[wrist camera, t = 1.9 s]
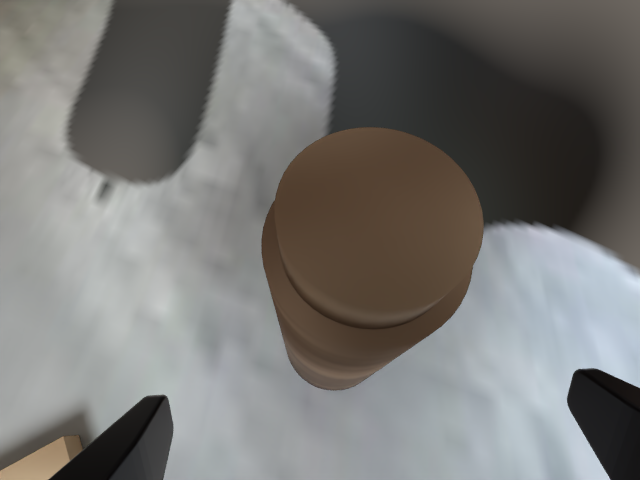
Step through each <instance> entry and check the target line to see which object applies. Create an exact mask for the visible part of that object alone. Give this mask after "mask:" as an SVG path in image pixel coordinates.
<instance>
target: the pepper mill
mask: <svg viewBox="0 0 640 480" xmlns="http://www.w3.org/2000/svg"><path fill="white" fill-rule="evenodd" d="M482 238H483V216H482V209H481V205H480V202H479V199H478V196H477V194H476V192H475V189H474V187H473V186H472V184H471V182H470V180H469V179H468V177H467V176H466V174H465V173H464V172H463V170H462V169H461V168H460V167H459V166H458V165H457V164H456V163H455V162H454V161H453V160H452V159H451V158H450V157H449V156H448V155H447V154H445V153H444V152H443V151H442V150H440V149H438V148H437V147H436V146H434V145H432V144H431V143H429V142H427V141H425V140H423V139H421V138H419V137H416V136H414V135H411V134H408V133H405V132H401V131H398V130H393V129H387V128H377V127H361V128H353V129H347V130H343V131H339V132H336V133H333V134H330V135H327V136H325V137H323V138H321V139H319V140H317V141H315V142H314V143H312V144H311V145H309V146H308V147H306V148H305V149H304V150H303V151H302V152H301V153H299V154H298V155H297V156H296V158H295V159H294V160H293V161H292V162H291V163H290V165H289V166H288V168H287V169H286V171H285V172H284V174H283V176H282V179H281V181H280V183H279V186H278V189H277V193H276V198H275V201H274V202H273V204H272V206H271V208H270V210H269V212H268V214H267V217H266V220H265V224H264V227H263V234H262V259H263V265H264V269H265V273H266V277H267V280H268V284H269V288H270V291H271V295H272V299H273V302H274V306H275V310H276V313H277V317H278V321H279V324H280V328H281V332H282V335H283V339H284V343H285V347H286V350H287V354H288V357H289V360H290V362H291V364H292V366H293V367H294V369H295V370H296V372H297V373H298V374H299V375H300V376H301V377H302V378H303V379H304V380H305V381H307V382H308V383H310V384H312V385H314V386H316V387H318V388H321V389H325V390H344V389H348V388H351V387H353V386H355V385H357V384H359V383H361V382H362V381H363V380H365V379H366V378H368V377H369V376H371V375H372V374H374V373H375V372H376V371H378V370H379V369H381V368H382V367H384V366H385V365H387V364H388V363H390V362H391V361H392V360H394V359H395V358H397V357H398V356H400V355H401V354H403V353H404V352H405V351H407V350H408V349H410V348H411V347H413V346H414V345H416V344H417V343H419V342H420V341H421V340H423V339H424V338H426V337H427V336H429V335H430V334H432V333H433V332H434V331H436V330H437V329H438V328H440V327H441V326H442V325H443V324H444V323H445V322H446V321H447V320H448V319H449V318H450V317H451V316H452V315H453V314H454V313H455V311H456V310H457V309H458V307H459V306H460V304H461V302H462V300H463V298H464V297H465V295H466V292H467V289H468V286H469V283H470V280H471V275H472V269H473V264H474V263H475V261H476V259H477V257H478V254H479V251H480V248H481V244H482Z"/></svg>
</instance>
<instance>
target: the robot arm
mask: <svg viewBox="0 0 640 480" xmlns="http://www.w3.org/2000/svg"><path fill="white" fill-rule="evenodd" d="M567 403H568V407H569V409H570V411H571V413H572V415H573V416H574V418H575V420H576V422H577V423H578V425H579V427H580V428H581V430H582V432H583V434H584V435H585V437H586V439H587V440H588V442H589V444H590V446H591V447H592V449H593V451H594V452H595V454H596V456H597V458H598V459H599V461H600V463H601V464H602V466H603V468H604V469H605V471H606V473H607V474H608V476H609V478H610V479H611V480H640V388H638V387H636V386H634V385H631V384H629V383H627V382H625V381H623V380H621V379H618V378H616V377H614V376H612V375H610V374H607V373H605V372H603V371H601V370H598V369H594V368H589V369H578V370H576V371H575V372H574V374H573V377H572V381H571V385H570V388H569V392H568V396H567ZM172 437H173V421H172V415H171V410H170V405H169V400H168V398H167V396H165V395H150V396H146V397H144V398H143V399H142V400H141V401H139V402H138V403H137V404H136V405H135V406H134V407H132V408H131V409H130V410H129V411H128V412H127V413H125V414H124V415H123V416H122V417H121V418H120V419H118V420H117V421H116V422H115V423H114V424H113V425H111V426H110V427H109V428H108V429H107V430H105V431H104V432H103V433H102V434H101V435H100V436H98V437H97V438H96V439H95V440H94V441H93V442H91V443H90V444H89V445H88V446H87V447H86V448H84V449H83V450H82V451H81V452H80V453H79V454H77V455H76V456H75V457H74V458H73V459H72V460H70V461H69V462H68V463H67V464H66V465H65V466H63V467H62V468H61V469H60V470H59V471H58V472H56V473H55V474H54V475H53V476H52V477H51V478H49V479H48V480H163V478H164V473H165V469H166V464H167V460H168V455H169V451H170V446H171V442H172Z"/></svg>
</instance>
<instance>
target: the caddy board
mask: <svg viewBox="0 0 640 480" xmlns="http://www.w3.org/2000/svg"><path fill="white" fill-rule="evenodd" d="M82 450H83V448H82V445H81V441H80V438H79V435H75V436H63V437H61V438H59V439H57V440H55V441H54V442H52V443H50V444H48V445H46V446H45V447H43V448H41V449H39V450H37V451H35V452H34V453H32V454H30V455H28V456H26V457H25V458H23V459H21V460H19V461H17V462H15V463H14V464H12V465H10V466H8V467H6V468H4V469H3V470H1V471H0V480H48V479H49V478H51V477H52V476H53V475H54V474H55V473H56V472H58V471H59V470H60V469H61V468H62V467H63V466H65V465H66V464H67V463H68V462H69V461H70V460H72V459H73V458H74V457H75V456H76V455H77V454H79V453H80V452H81V451H82Z"/></svg>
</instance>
